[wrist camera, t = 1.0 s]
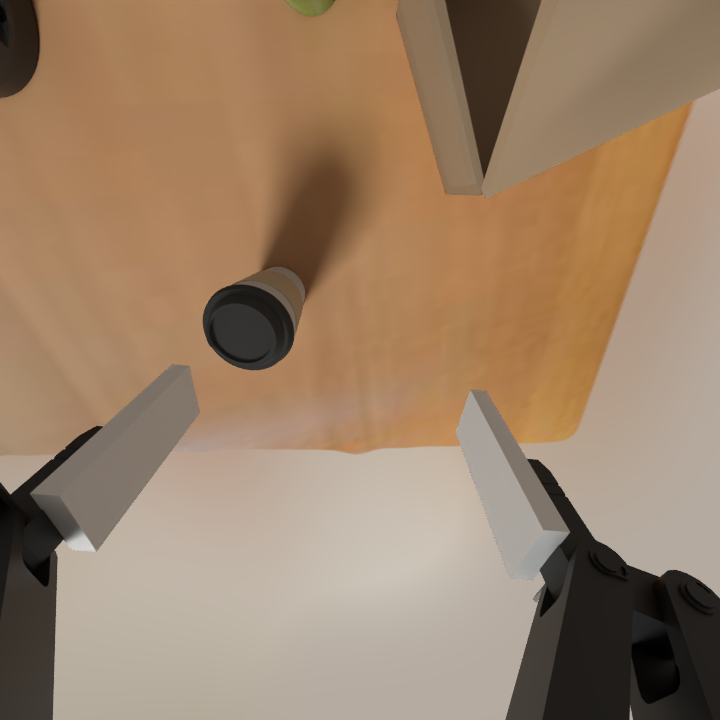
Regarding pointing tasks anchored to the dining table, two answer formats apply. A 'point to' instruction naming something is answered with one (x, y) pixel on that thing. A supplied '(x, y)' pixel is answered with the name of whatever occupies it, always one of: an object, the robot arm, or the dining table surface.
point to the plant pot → (310, 6)
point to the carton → (465, 77)
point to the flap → (601, 78)
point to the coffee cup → (255, 318)
